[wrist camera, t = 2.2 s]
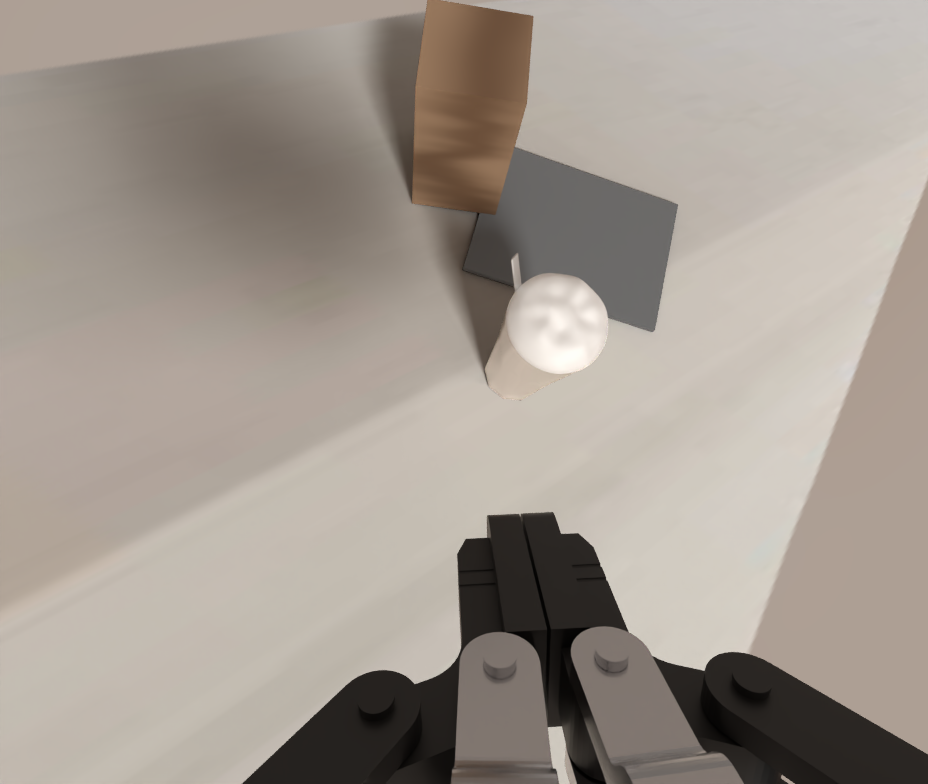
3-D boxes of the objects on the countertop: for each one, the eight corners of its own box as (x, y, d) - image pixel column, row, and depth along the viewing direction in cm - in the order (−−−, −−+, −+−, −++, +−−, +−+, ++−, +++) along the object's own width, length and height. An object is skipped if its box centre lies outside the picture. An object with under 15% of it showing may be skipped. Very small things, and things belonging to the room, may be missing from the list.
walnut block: (412, 203, 34) (415, 86, 25) (421, 132, 35) (427, -2, 27) (495, 215, 34) (526, 103, 26) (501, 144, 36) (533, 16, 27)
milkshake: (495, 310, 33) (548, 219, 24) (566, 370, 33) (647, 303, 24) (445, 366, 32) (479, 293, 22) (518, 429, 32) (584, 382, 22)
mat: (462, 270, 34) (463, 267, 33) (499, 145, 36) (500, 142, 36) (652, 332, 35) (654, 330, 34) (675, 207, 37) (678, 204, 37)
